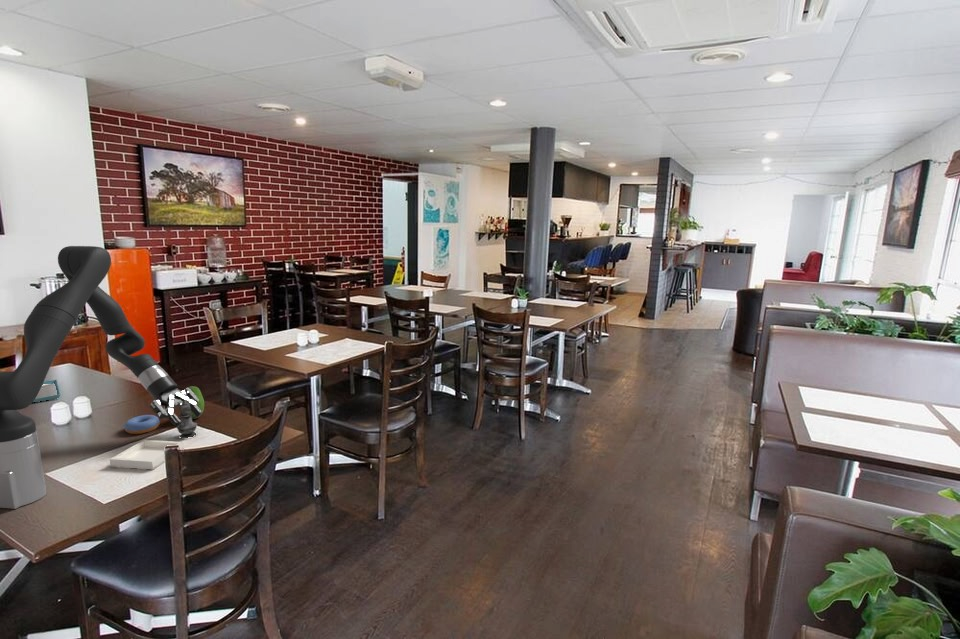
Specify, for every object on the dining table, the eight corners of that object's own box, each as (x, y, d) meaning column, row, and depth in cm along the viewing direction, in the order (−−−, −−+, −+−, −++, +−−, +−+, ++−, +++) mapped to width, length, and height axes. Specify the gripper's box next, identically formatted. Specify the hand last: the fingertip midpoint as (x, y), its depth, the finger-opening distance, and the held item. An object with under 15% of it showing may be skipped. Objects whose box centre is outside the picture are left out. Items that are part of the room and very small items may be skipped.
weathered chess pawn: (188, 440, 160) (185, 405, 158) (173, 438, 161) (169, 403, 159) (202, 433, 166) (198, 398, 163) (187, 431, 167) (183, 397, 164)
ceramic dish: (153, 469, 141) (152, 461, 140) (110, 467, 142) (109, 459, 142) (184, 449, 154) (183, 442, 153) (144, 447, 155) (144, 439, 154)
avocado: (209, 417, 179) (206, 385, 176) (186, 424, 172) (183, 391, 170) (199, 412, 183) (196, 381, 181) (176, 418, 177) (172, 386, 175)
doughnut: (134, 437, 161) (133, 423, 161) (118, 432, 166) (117, 419, 166) (166, 429, 170) (165, 416, 169) (150, 425, 175) (149, 412, 174)
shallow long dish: (29, 388, 207) (28, 382, 207) (57, 384, 214) (56, 378, 213) (30, 405, 189) (29, 399, 188) (61, 400, 195) (60, 394, 194)
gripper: (143, 382, 155) (177, 421, 154) (181, 369, 168) (212, 405, 167) (132, 396, 157) (165, 435, 156) (170, 382, 171) (201, 418, 170)
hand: (189, 419), depth 162 cm, fingers open, 7 cm apart
